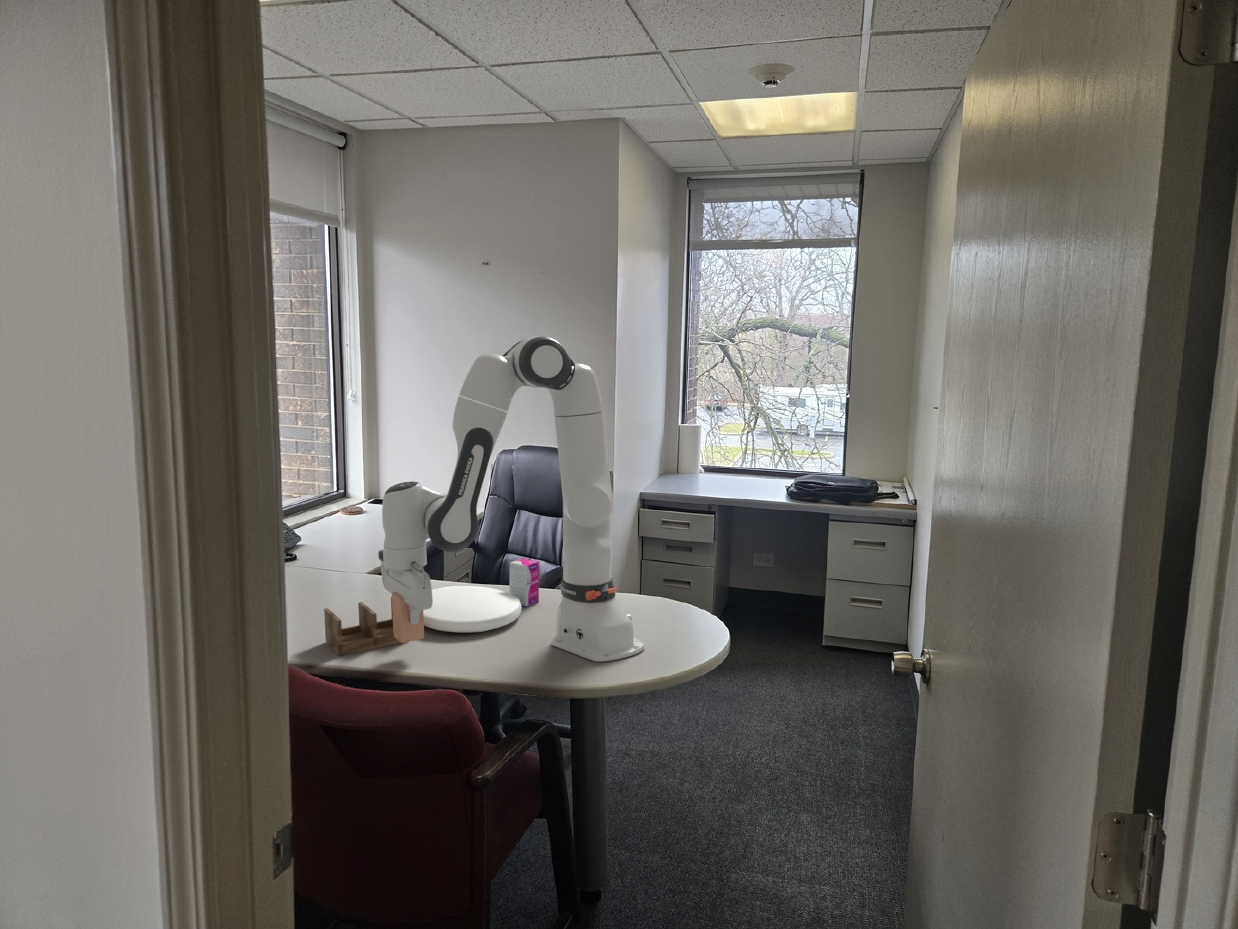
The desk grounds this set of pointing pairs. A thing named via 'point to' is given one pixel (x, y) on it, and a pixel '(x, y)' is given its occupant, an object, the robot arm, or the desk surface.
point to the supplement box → (525, 581)
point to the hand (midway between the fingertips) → (408, 619)
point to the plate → (470, 609)
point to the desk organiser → (358, 632)
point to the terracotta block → (405, 621)
